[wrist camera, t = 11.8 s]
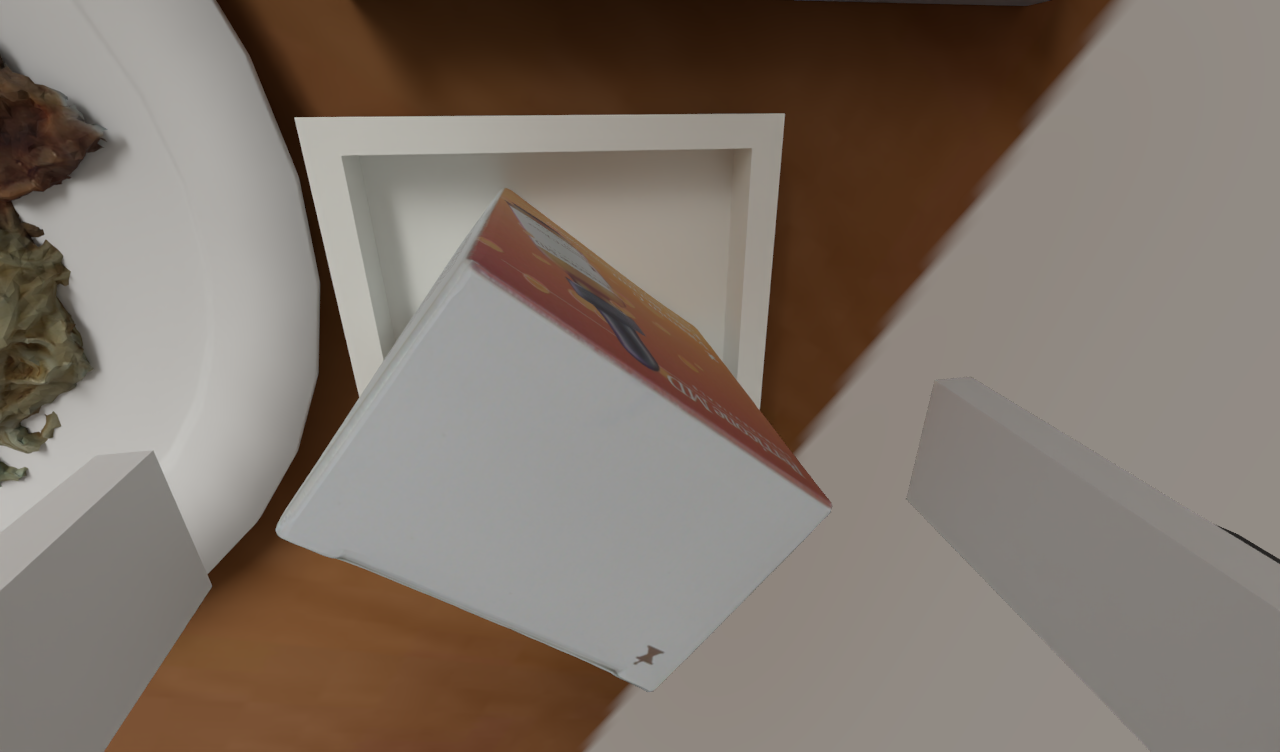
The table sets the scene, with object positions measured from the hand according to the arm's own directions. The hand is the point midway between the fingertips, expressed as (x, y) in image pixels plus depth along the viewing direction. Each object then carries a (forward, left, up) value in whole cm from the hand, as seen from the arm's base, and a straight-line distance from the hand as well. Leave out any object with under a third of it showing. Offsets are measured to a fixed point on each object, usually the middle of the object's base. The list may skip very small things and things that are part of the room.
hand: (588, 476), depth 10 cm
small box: (0, 0, -10) cm, 10 cm away
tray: (0, 0, -11) cm, 11 cm away
